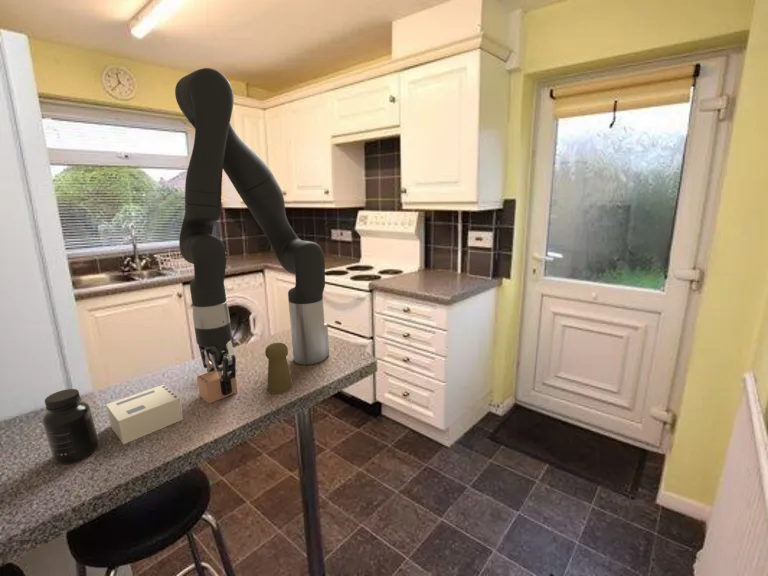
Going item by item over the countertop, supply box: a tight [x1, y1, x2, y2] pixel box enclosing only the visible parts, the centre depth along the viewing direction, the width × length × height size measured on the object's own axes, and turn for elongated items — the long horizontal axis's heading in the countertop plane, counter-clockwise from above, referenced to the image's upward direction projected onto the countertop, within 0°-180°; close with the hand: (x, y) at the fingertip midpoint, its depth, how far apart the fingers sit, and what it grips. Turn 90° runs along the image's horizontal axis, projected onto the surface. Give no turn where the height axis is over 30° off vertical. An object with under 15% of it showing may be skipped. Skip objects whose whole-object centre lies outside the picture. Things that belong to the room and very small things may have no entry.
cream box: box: [105, 384, 184, 445], centre depth 82 cm, size 11×9×5 cm
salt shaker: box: [219, 339, 239, 371], centre depth 104 cm, size 5×5×11 cm
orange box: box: [196, 370, 238, 404], centre depth 92 cm, size 7×5×5 cm
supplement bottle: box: [42, 388, 100, 465], centre depth 72 cm, size 7×7×12 cm
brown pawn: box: [264, 342, 294, 394], centre depth 95 cm, size 6×6×11 cm
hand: (221, 389), depth 93 cm, fingers closed on orange box, 5 cm apart
